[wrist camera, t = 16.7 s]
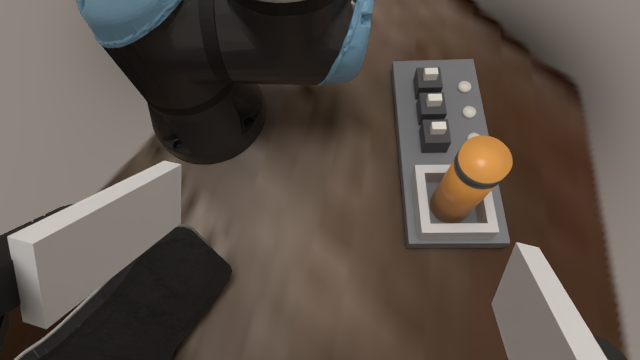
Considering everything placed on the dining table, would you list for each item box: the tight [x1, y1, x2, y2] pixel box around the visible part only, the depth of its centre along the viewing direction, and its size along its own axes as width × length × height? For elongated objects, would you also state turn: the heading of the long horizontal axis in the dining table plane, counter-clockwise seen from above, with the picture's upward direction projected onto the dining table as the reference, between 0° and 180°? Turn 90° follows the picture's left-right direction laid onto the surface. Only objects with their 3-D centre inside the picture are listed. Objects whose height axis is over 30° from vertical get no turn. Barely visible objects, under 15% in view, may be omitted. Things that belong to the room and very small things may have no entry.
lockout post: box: [430, 135, 513, 223], centre depth 38 cm, size 4×4×12 cm
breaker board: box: [391, 59, 510, 248], centre depth 46 cm, size 26×11×6 cm, turn 179°
